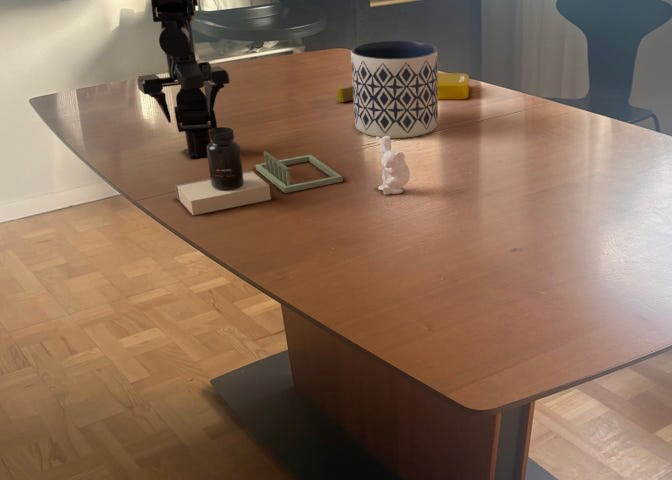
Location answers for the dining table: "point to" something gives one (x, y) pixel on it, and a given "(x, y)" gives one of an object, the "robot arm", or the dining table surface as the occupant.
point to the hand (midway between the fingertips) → (190, 119)
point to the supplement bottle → (224, 160)
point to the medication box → (345, 93)
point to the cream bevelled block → (222, 194)
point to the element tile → (453, 86)
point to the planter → (395, 88)
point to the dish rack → (277, 164)
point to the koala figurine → (392, 168)
